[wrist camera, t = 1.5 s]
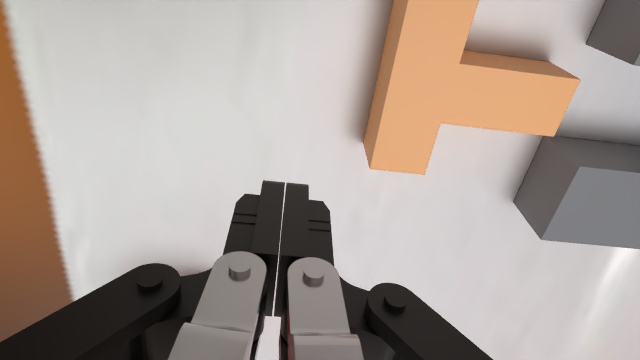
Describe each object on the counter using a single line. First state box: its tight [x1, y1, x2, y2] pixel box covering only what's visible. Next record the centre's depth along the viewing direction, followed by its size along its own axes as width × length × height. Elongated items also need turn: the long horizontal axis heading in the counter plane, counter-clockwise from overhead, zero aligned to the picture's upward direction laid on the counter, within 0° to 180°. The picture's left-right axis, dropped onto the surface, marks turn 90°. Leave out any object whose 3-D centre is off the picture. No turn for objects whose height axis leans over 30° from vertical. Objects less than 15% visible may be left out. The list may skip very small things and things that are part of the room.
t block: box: [363, 0, 580, 175], centre depth 28 cm, size 12×12×4 cm
